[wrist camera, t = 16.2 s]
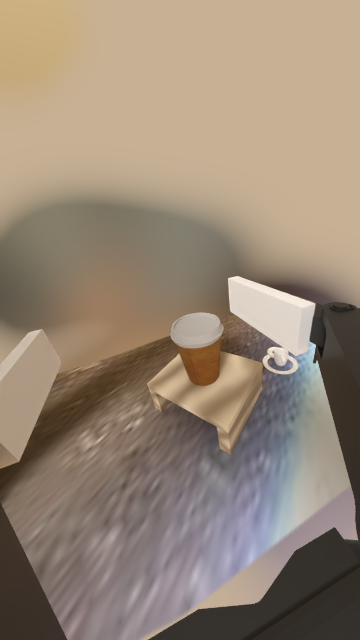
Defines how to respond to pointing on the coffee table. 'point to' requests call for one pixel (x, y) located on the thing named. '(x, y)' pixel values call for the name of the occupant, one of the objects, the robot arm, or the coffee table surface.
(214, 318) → the disposable coffee cup
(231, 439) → the maple shelf
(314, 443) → the coffee table surface
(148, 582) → the coffee table surface
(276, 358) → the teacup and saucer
